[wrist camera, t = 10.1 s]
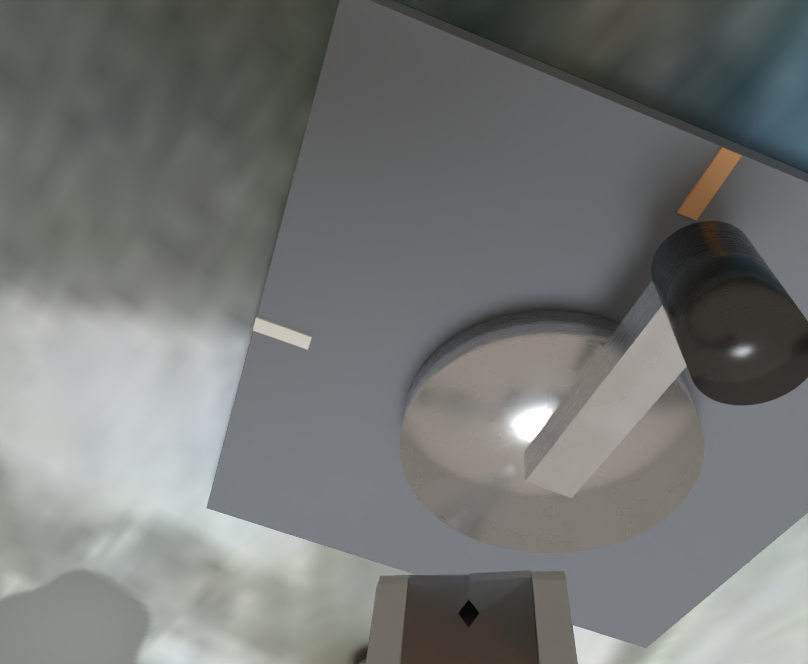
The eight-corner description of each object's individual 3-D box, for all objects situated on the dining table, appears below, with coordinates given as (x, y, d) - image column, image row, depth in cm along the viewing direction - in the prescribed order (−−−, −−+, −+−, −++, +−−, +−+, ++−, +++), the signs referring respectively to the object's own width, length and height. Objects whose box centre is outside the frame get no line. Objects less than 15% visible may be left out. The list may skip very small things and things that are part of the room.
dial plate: (216, 486, 35) (205, 509, 34) (351, -17, 20) (341, -11, 19) (641, 623, 38) (646, 650, 36) (1040, 269, 23) (1073, 293, 21)
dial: (592, 547, 32) (614, 692, 26) (367, 466, 30) (337, 601, 24) (866, 266, 22) (1000, 402, 16) (549, 125, 20) (570, 220, 14)
